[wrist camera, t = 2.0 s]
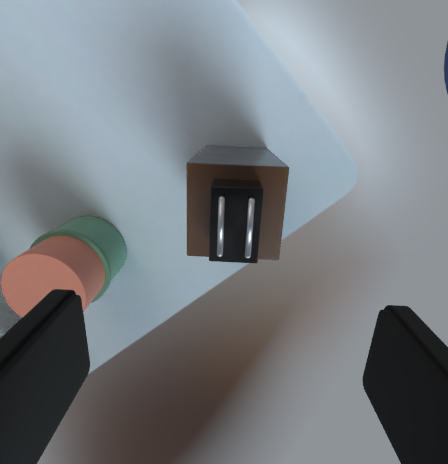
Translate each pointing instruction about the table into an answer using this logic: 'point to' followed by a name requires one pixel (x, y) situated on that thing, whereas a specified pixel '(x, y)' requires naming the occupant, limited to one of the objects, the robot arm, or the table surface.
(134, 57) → the table surface
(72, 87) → the table surface
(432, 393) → the robot arm
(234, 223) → the clip
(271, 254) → the clip stand
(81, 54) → the table surface
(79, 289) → the cup stack
